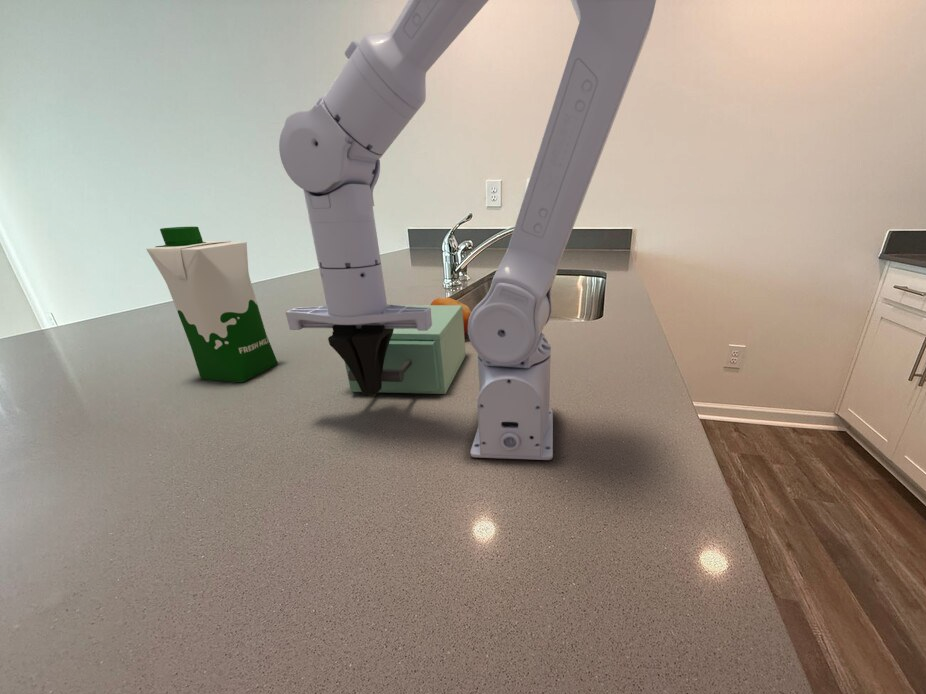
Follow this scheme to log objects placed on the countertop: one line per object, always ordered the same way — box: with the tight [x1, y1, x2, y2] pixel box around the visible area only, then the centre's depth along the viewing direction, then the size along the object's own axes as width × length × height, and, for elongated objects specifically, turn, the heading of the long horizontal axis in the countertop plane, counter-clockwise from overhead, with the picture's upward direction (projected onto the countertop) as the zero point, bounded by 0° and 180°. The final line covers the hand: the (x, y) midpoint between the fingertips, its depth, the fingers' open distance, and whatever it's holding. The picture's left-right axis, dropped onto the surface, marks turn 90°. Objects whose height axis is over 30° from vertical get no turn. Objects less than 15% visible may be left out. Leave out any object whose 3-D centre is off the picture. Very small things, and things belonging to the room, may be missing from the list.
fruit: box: [430, 296, 472, 337], centre depth 72 cm, size 8×8×8 cm
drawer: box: [344, 340, 440, 392], centre depth 53 cm, size 17×11×6 cm, turn 175°
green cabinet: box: [350, 304, 467, 395], centre depth 57 cm, size 14×13×8 cm
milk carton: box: [146, 226, 279, 383], centre depth 56 cm, size 9×9×20 cm
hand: (372, 391), depth 45 cm, fingers closed, pressing on drawer
